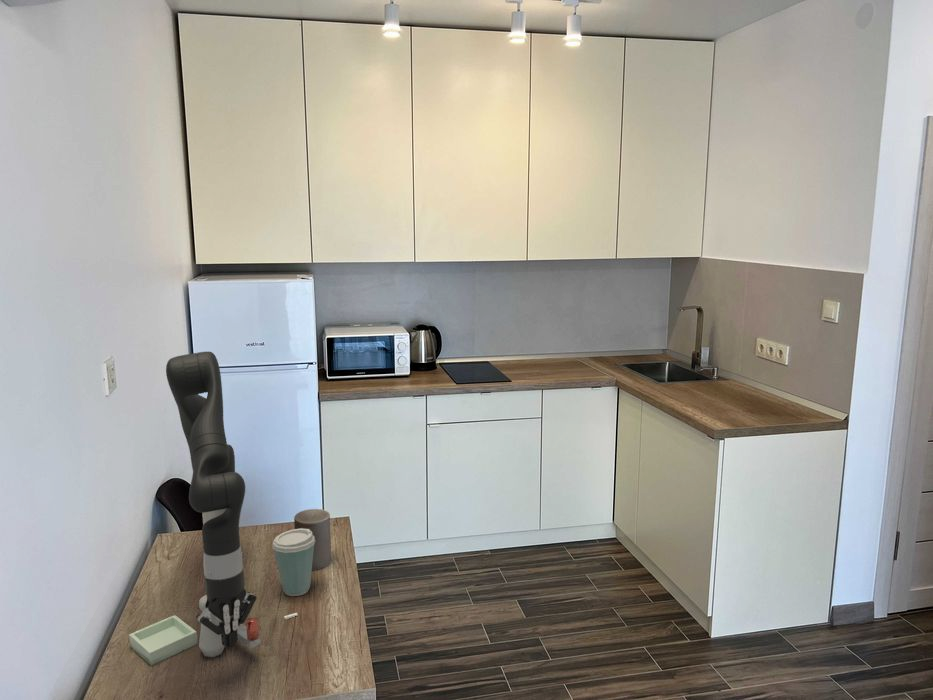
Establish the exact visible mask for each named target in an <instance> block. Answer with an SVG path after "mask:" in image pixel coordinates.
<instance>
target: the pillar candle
mask: <svg viewBox="0 0 933 700" xmlns="http://www.w3.org/2000/svg"><path fill="white" fill-rule="evenodd" d="M293 518H294V519H293V520H294V522H293V524H294V525H293V526H294V529H300V528H303V529H309V530H310V531H312V535H313V536H314V537H315V543H314V550H313V561H312V571H316V570H317V571H318V570H322V569H324V568H326V567H328V566H329V565H330V564H331V563H332V541H331V538H332V537H331V514H330V512H329V511H327V510H325V509H323V508H310V509H304V510H301V511H299V512H297V513H296V514H295V515H294V516H293Z"/></svg>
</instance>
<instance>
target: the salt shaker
mask: <svg viewBox="0 0 933 700" xmlns="http://www.w3.org/2000/svg"><path fill="white" fill-rule="evenodd" d="M198 601H199V602H198V607H199V610H200V611H201V614H202V613H203V611H204V610H205V609H206V607H205V604H206V601H207V595H206V594H205V595H204V596H202V597H200V599H199V600H198ZM210 616H211V622H212V623H213V624H215V625H218V621H217V619H216V616H214V615H213V614H212V613H210ZM198 639H199V641H198V648H199V649H200V651H201V652H202V654H203V656H204V657H205V658H206V657H208V658H215V657H217V656H220V655H222V654H223V652H224V649H225V648H226V647H225V646H223V645H222V639H221V634H220V635H217V634H216V633H214V632H213V631H211V630H210V629H209V628H207V627H206V626H204V625H203V624H202V623H200V632H199V638H198Z"/></svg>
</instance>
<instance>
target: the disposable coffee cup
mask: <svg viewBox="0 0 933 700" xmlns="http://www.w3.org/2000/svg"><path fill="white" fill-rule="evenodd" d="M314 543H315V537H314V536H313V535H312V531H310V530H309V529H303V528H300V529H295V528H294V529H290V530H286V531H284V532H282V533H280V534H278V535H277V536H275V538H274V539H273V542H272V543H271V544H272V546H271V547H272V549H273V552H274V553H273V554H274V557H275V561H276V566H277V570H278V574H279V579H280V580H279V581H280V584H281V588H282V591H283V593H285V595H286V596H290V597H299V596H302V595H305V594H306V593H308V592H309V590H310V588H311V581H312V573H313V570H312V561H313V550H314Z"/></svg>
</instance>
